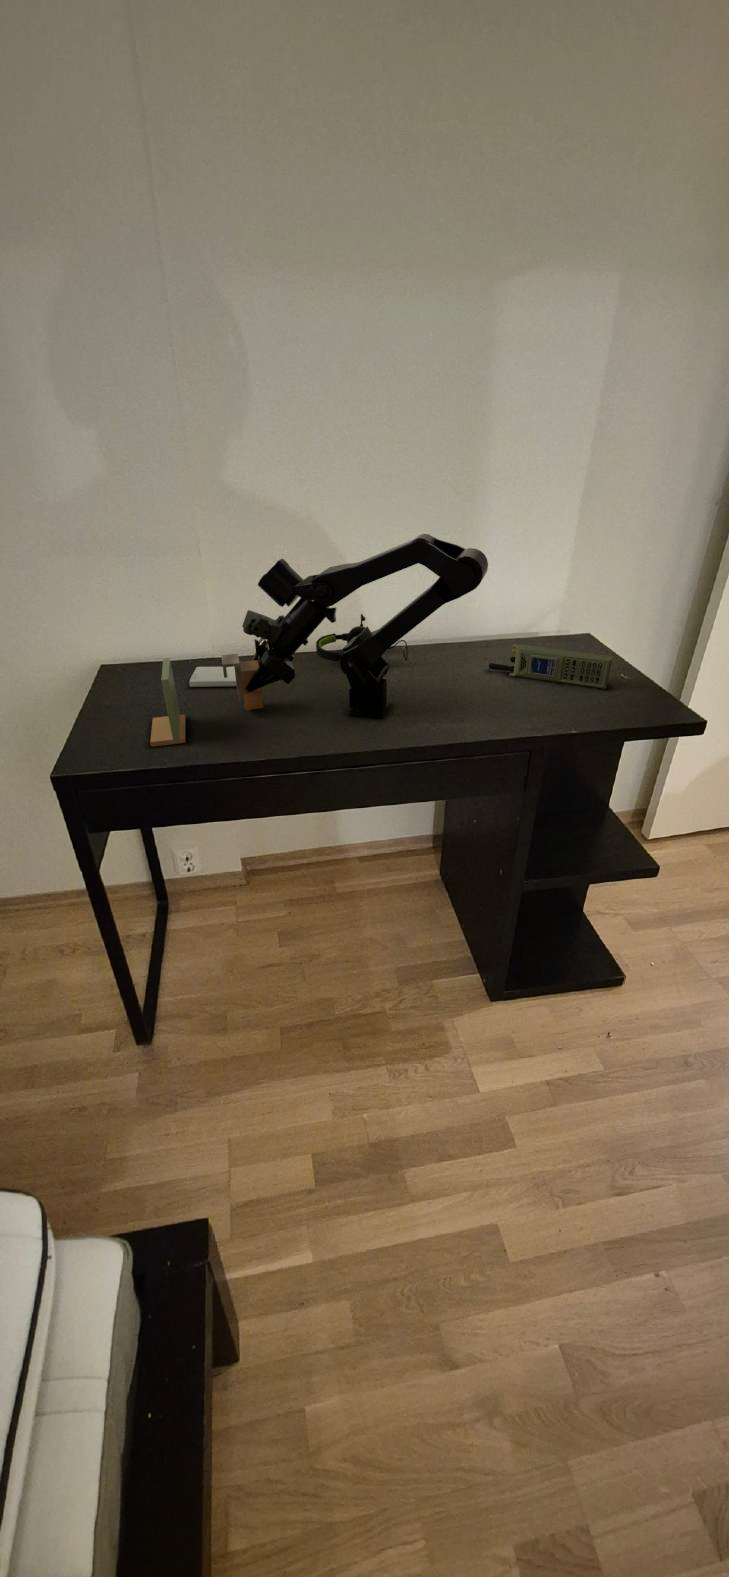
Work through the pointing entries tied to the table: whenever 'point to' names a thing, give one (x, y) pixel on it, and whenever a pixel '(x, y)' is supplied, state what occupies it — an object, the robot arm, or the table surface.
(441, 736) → the table surface
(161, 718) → the door panel
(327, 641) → the headphones
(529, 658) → the handheld radio
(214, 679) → the hard drive
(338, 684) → the table surface
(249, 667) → the lidded tan box
